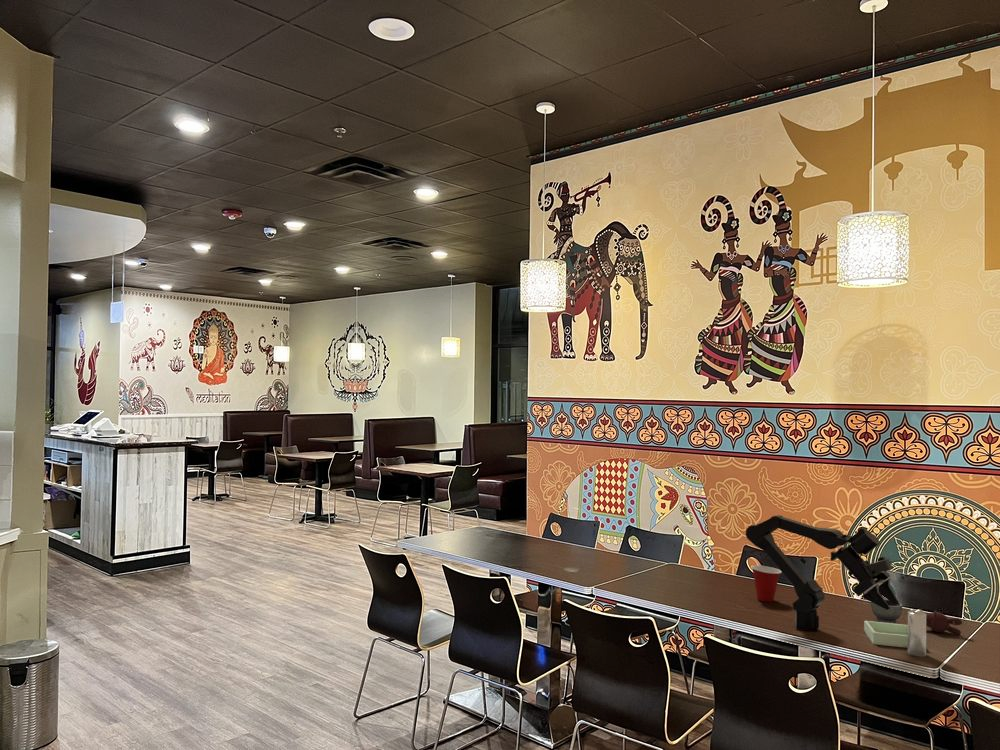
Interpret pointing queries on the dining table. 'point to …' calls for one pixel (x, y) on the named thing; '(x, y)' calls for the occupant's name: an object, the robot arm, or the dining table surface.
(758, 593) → the plastic cup
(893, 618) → the mortar and pestle
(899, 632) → the pale green bin
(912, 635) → the cylinder with three balls
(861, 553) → the robot arm
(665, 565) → the dining table surface
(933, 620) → the icecream
